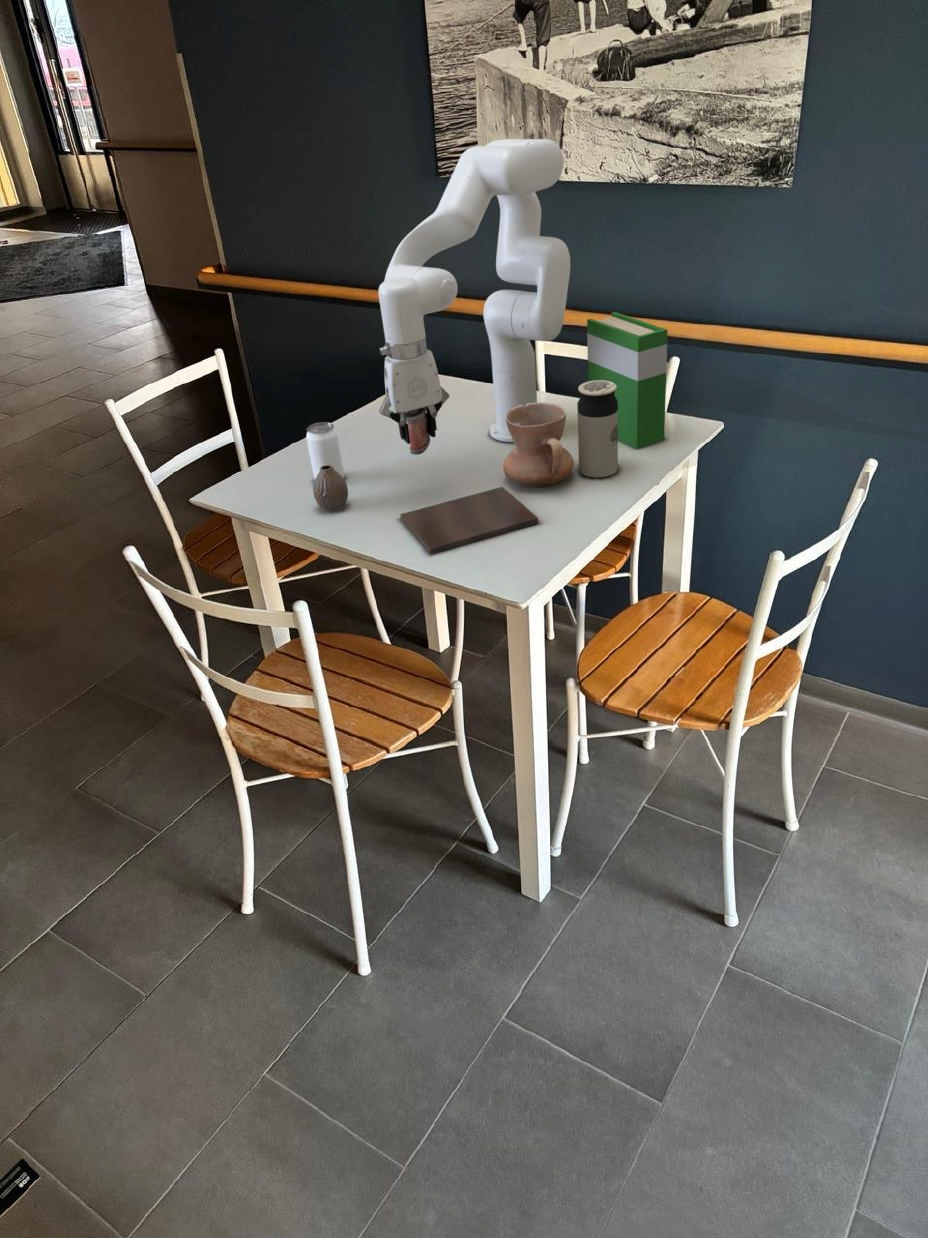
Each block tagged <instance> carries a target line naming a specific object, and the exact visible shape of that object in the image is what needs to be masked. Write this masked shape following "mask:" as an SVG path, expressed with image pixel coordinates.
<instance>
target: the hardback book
mask: <svg viewBox="0 0 928 1238" xmlns="http://www.w3.org/2000/svg"><path fill="white" fill-rule="evenodd" d="M586 331H587V332H586V335H587V336H586V337H587V339H586V340H587V382H589V381H595V380H604V381H610V382H613V383H614V384H616V386H617V388H616V390H615V394H614V395H615V397H616V399H617V401H618V441H620V442H622V443H624V444H626V445H628V446H630V447H633V448H634V449H637V450H638V449H641V448H644V447H646V446H649V445H652V444H656V443H659V442H661V441H664V440H665V425H666V424H665V423H666V419H665V418H666V398H667V397H666V392H667V390H666V389H667V365H668V364H667V361H668V358H667V357H668V332H669V331H668V328H664V327H662V326H658V325H655V324H651V323H649V322H646V321H644V320H641V319H637V318H634V317H631V316H629V315H625V314H622V313H620V312H617V311H616V312H615V311H614V312H611V316H610V317H606V318H603V319H599V320H596V319H594V318H587V319H586Z"/></svg>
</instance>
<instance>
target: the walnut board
mask: <svg viewBox="0 0 928 1238" xmlns="http://www.w3.org/2000/svg"><path fill="white" fill-rule="evenodd" d="M399 515H400V520H401V522H402V523H403V525H405V526H406V527H407V528H408V530H409V531H410V532H411V533H412V534H413V536H414V537H415V538H416V539H417V540H418V541H419V543H421V545H422V546H423V548H425V549H426V551H427V552H428V553H429V554H430V555H433V554H437V553H440V552H443V551H447V550H451V549H455V548H458V547H461V546H465V545H467V544H468V545H469V544H471V543H475V542H478V541H482V540H485V539H489V538H493V537H497V536H500V535H503V534H507V533H510V532H513V531H517V530H520V529H525V528H527V527H530V526H534V525H538V524H539V518H538V516H536V515H535V514H534V513H533V512H532V511H531V510H529V509H528V508H527V507H526V506H525V505H524V504H522V502H520V501H519V500H518V499H517V498H516V497H515V496H513V495H512V494H511V493H510V491H508V490H507V489H506V488H504V487H503V486H500V487H496V488H492V489H489V490H485V491H481V492H478V493H474V494H470V495H466V496H463V497H459V498H455V499H451V500H448V501H444V502H439V503H437V504H433V505H429V506H426V507H422V508H418V509H414V510H411V511H408V512H403V513H400V514H399Z"/></svg>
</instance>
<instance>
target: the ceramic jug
mask: <svg viewBox="0 0 928 1238" xmlns="http://www.w3.org/2000/svg"><path fill="white" fill-rule="evenodd" d="M505 419H506V424H507V427H508V430H509V432H510V435H511V437H512V439H513V441H514V442H513V443H514V445H515V447H516V448H514V449H513V450H512V451H510V452H509V453H508V454H507V455H506V456H505V458H504V460H503V462H502V470H503V473H504V475H505V477H507V478H508V479H509V480H510V481H512V482H513V483H516V484H518V485H521V486H526V487H547V486H552V485H554V484H558V483H560V482H562V481H564V480H565V479H566V478H568V477H569V476H570V475H571V473H572V472H573V471H574V466H575V461H574V458H573V456H572V454H571V452H570V451H568V450H567V449H566V448H564V447H563V444H562V443H561V439H562V436H563V433H564V431H565V426H566V420H567V410H566V408H565V407H564V406H562V405H560V404H556V403H552V402H551V403H550V402H540V401H537V402H536V403H528V404H527V405H526V406H524V405H519V406H516V407H514V408H512V409H510V410H509V411H508V412H507V413H506V416H505ZM518 422H519V425H515V424H514V423H518Z"/></svg>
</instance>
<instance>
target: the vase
mask: <svg viewBox="0 0 928 1238" xmlns="http://www.w3.org/2000/svg"><path fill="white" fill-rule="evenodd" d="M312 492H313V497H314V500H315V502H316V504H317V505H318V506H319V507H320V508H321V509H323V510H325V511H326V512H335V511H338V510H340V509H342V508H343V507H344V506H345V505H346V503H347V501H348V497H349V489H348V485H347V482H346V480H345V477H344V478H343V477H342V476H341V475H340V474H339V473H338V472H337V471H336V470H335V469H334V468H333V467H332V466H331V465H324V466H322V467H321V468H320V471H319V473H318V475H317V477H316V479H315V480H314V481H313V485H312Z"/></svg>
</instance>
